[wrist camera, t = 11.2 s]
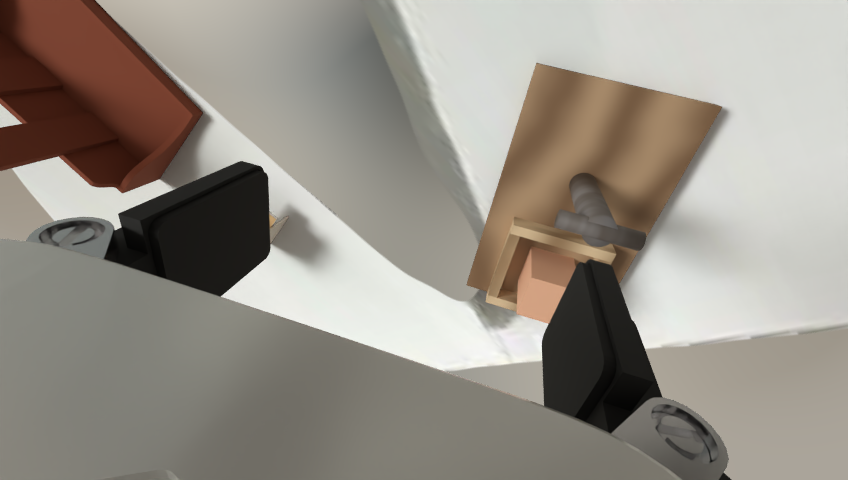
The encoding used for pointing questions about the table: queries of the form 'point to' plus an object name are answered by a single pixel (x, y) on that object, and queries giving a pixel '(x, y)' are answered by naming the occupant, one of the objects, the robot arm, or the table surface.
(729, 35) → the table surface
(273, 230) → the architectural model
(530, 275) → the salmon orange block
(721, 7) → the table surface
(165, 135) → the red dustpan
